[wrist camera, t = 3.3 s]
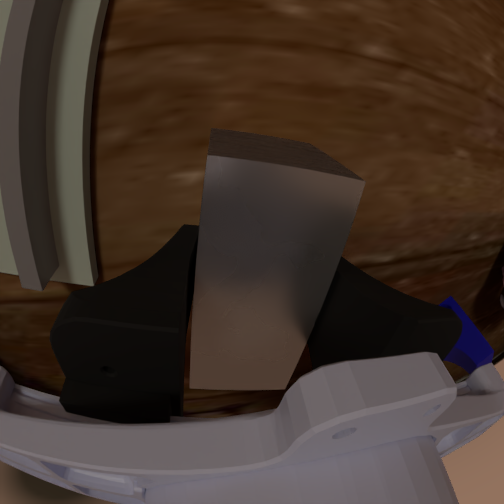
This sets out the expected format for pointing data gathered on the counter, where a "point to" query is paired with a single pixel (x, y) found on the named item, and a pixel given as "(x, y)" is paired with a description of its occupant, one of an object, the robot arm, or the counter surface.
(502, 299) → the video game controller
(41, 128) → the drive tray
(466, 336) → the cable clip
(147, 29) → the counter surface
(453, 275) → the counter surface
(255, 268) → the block
